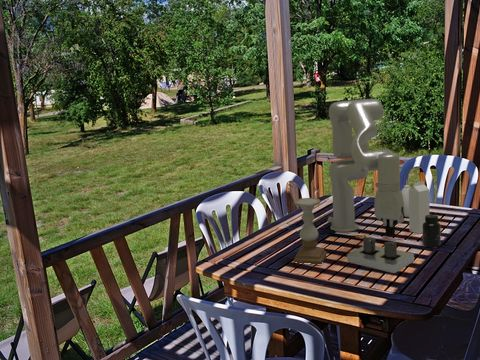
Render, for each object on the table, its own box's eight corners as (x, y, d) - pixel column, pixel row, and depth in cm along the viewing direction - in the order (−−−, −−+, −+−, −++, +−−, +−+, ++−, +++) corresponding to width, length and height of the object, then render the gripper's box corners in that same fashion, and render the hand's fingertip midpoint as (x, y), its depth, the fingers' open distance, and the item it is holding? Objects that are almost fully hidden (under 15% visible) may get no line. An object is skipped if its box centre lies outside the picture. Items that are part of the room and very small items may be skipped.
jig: (347, 261, 200) (346, 241, 198) (367, 251, 209) (366, 232, 208) (394, 273, 186) (393, 252, 184) (413, 261, 195) (413, 240, 193)
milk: (409, 231, 229) (408, 182, 225) (419, 228, 232) (418, 179, 227) (419, 234, 224) (418, 184, 219) (430, 231, 226) (429, 181, 222)
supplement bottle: (442, 247, 206) (441, 218, 204) (423, 247, 208) (423, 218, 206) (439, 241, 213) (439, 213, 211) (421, 242, 215) (421, 213, 212)
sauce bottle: (398, 218, 248) (397, 181, 244) (399, 214, 255) (398, 178, 251) (415, 219, 245) (415, 181, 241) (416, 214, 252) (416, 178, 248)
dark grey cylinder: (382, 264, 194) (381, 244, 193) (388, 261, 197) (388, 240, 196) (393, 267, 191) (392, 246, 190) (399, 263, 194) (398, 243, 193)
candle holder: (321, 265, 198) (318, 204, 193) (293, 264, 202) (289, 204, 197) (327, 255, 208) (324, 197, 203) (300, 254, 212) (296, 197, 207)
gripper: (365, 187, 191) (367, 235, 195) (402, 191, 180) (403, 242, 184) (376, 183, 196) (378, 230, 200) (413, 187, 185) (414, 236, 189)
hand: (390, 235), depth 192 cm, fingers closed
